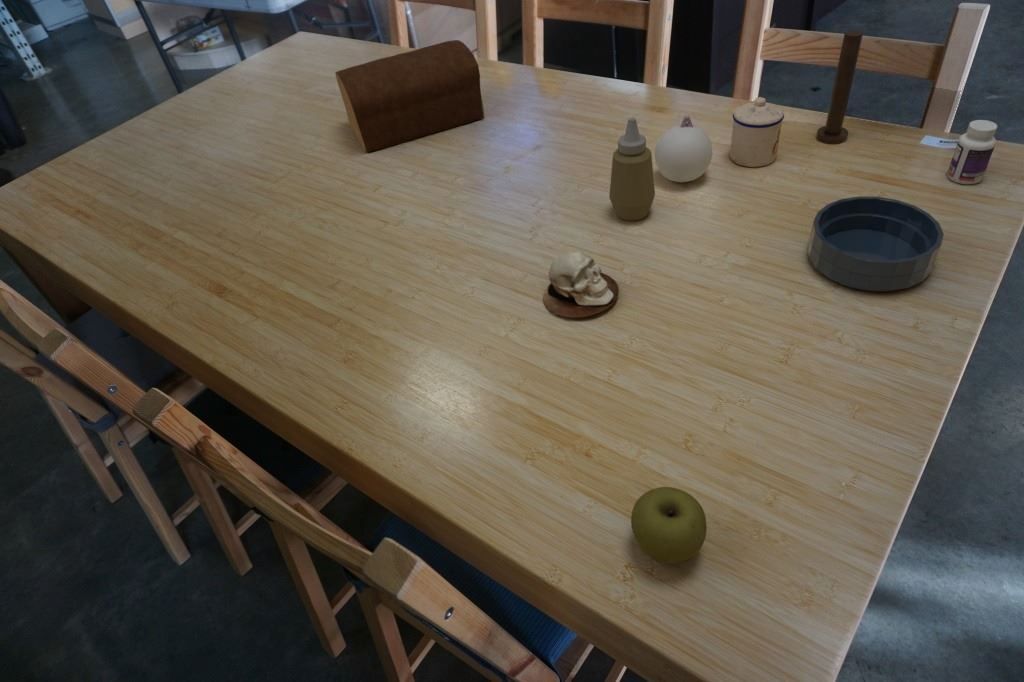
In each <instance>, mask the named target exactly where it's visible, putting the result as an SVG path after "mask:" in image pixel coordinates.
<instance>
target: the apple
mask: <svg viewBox="0 0 1024 682" xmlns="http://www.w3.org/2000/svg"><path fill="white" fill-rule="evenodd" d="M630 525H631V530H632V533H633V536H634V538H635V540H636V542H637V544H638V545H639V547H640V548H641V550H642V551H643V552H644V553H645V554H646V556H648V557H649V558H650V559H652V560H654V561H656V562H659V563H662V564H678V563H683V562H685V561H687V560H689V559H691V558H693V557H694V556H695V555H696V554H697V553H699V551H700V550H701V548H702V546H703V545H704V543H705V540H706V537H707V518H706V514H705V511H704V508H703V507H702V505H701V503H700V502H699V501H698V500H697V498H695V497H694V496H693V495H692V494H691V493H688V492H687V491H685V490H683V489H680V488H677V487H672V486H659V487H656V488H655V487H654V488H651V489H650V490H647V491H645V492H644V493H643V494H641V495H640V496H639V498H638V499H637V500H636V501H635V503H634V505H633V507H632V512H631V515H630Z"/></svg>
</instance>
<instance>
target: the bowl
mask: <svg viewBox="0 0 1024 682" xmlns="http://www.w3.org/2000/svg"><path fill="white" fill-rule="evenodd" d="M809 235H810V236H809V241H808V244H807V254H808V259H809V261H810V262H811V264H812V265H813V266H814V268H815V269H816V270H817V271H818V272H819V273H821V274H822V275H824V276H825V277H827V278H828V279H830V280H831V281H833V282H835V283H837V284H840V285H842V286H845V287H848V288H851V289H854V290H860V291H864V292H865V291H866V292H893V291H898V290H905V289H909V288H911V287H913V286H916V285H918V284H920V283H922V282H923V281H924V280H925V279H926V278H927V277H928V276H930V274H931V273H932V271H933V268H934V265H935V263H936V261H937V257H938V255H939V253H940V249H941V247H942V243H943V240H944V235H945V234H944V232H943V229H942V226H941V223H939V222H938V221H937V219H936V218H934V217H933V216H932V215H931V213H929V212H927V211H926V210H924V209H922V208H920V207H918V206H917V205H915V204H912V203H908V202H904V201H901V200H898V199H895V198H889V197H882V196H863V195H862V196H861V195H860V196H853V197H846V198H841V199H838V200H836V201H833V202H830V203H828V204H826V205H824V206H823V207H822V208H821V209H819V210H818V211H817V213H816V215H815V217H814V219H813V222H812V226H811V231H810V234H809Z"/></svg>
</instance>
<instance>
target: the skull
mask: <svg viewBox="0 0 1024 682" xmlns="http://www.w3.org/2000/svg"><path fill="white" fill-rule="evenodd" d="M548 278H549V279H548V280H549V282H550V283H549V284H548V285H547V287H546V288H545V290H544V292H543V295H542V300H543V304H544V306H545V307H546V308H547V309H548V310H549V311H550V312H551V313H553V314H555V315H558V316H561V317H564V318H565V317H566V318H585V317H591V316H594V315H598V314H599V313H602V312H603V311H606V310H607V309H609V308H610V307H611V306H612V305H614V304H615V302H616V301H617V300H618V297H619V293H620V288H619V285H618V283H617V282H616V280H615V279H614V278H613V277H612V276H610V275H608V274H606V273H603V272H602V269H601V266H599V265H598V264H597V263H596V262H595V259H594V258H593V257H592V256H589V255H588V254H586V253H584V252H583V251H580V250H569V251H566V252H563V253H562V254H560V255H558V256H557V257H556V258H554V259H553V261H552V262H551V264H550V268H549V272H548Z"/></svg>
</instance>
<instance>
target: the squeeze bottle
mask: <svg viewBox="0 0 1024 682" xmlns="http://www.w3.org/2000/svg"><path fill="white" fill-rule="evenodd" d="M652 156H653V154H652V151H651V149H650V148H649V147H647V138H646V137H645V136H644V135H642V134H641V133H640V132H639V128H638V124H637V119H636V117H629V118H628V120H627V123H626V129H625V134H623V135H622V136H620V137H619V138H618V140H617V149H615V150H614V151H613V154H612V161H611V171H610V186H609V196H608V198H609V200H610V202H611V205H612V208H613V209H614V212H615V214H616V217H618V218H620V219H621V220H625V221H632V222H635V221H639V220H641V219H644V218H646V217H647V215H648V214H649V212H650V211H651V210H650V209H651V207H652V205H653V202H654V200H655V196H656V189H655V178H654V167H653V165H654V164H653V157H652Z"/></svg>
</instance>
